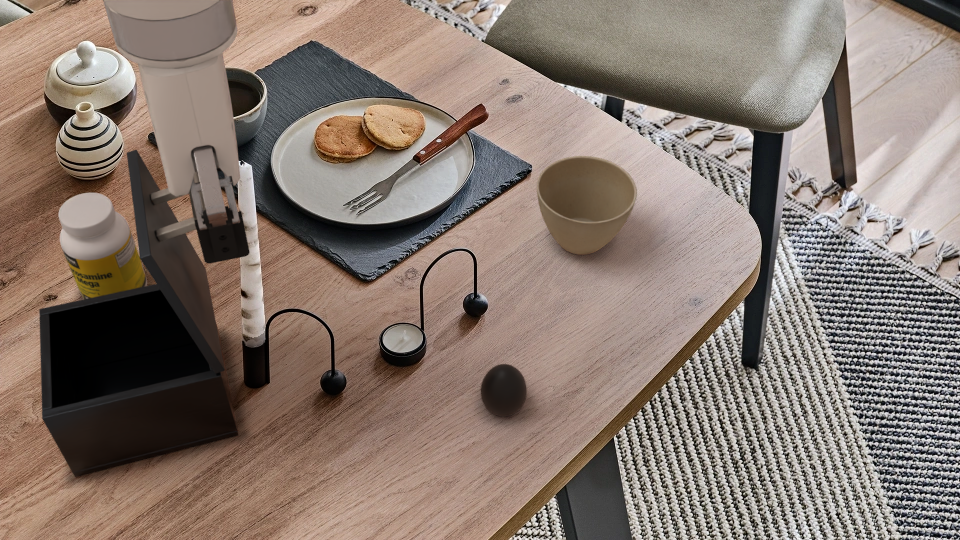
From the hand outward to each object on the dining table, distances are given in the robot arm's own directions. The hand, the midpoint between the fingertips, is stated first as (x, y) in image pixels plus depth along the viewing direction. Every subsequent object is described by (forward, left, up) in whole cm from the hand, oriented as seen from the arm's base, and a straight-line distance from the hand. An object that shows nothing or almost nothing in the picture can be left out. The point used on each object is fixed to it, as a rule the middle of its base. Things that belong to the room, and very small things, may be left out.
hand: (217, 212), depth 71 cm
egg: (+23, 0, -21) cm, 31 cm away
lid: (-4, -2, -4) cm, 6 cm away
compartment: (-8, -4, -21) cm, 23 cm away
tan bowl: (+29, +22, -21) cm, 42 cm away
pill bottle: (-16, +8, -21) cm, 28 cm away
